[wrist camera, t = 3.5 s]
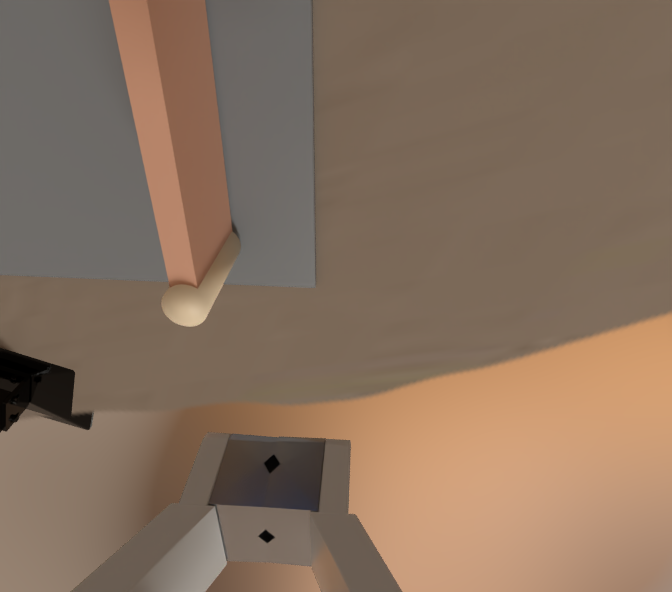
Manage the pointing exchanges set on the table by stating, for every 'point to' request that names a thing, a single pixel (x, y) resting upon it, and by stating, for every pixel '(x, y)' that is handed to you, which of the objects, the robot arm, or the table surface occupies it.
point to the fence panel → (179, 146)
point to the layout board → (124, 150)
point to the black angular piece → (37, 391)
